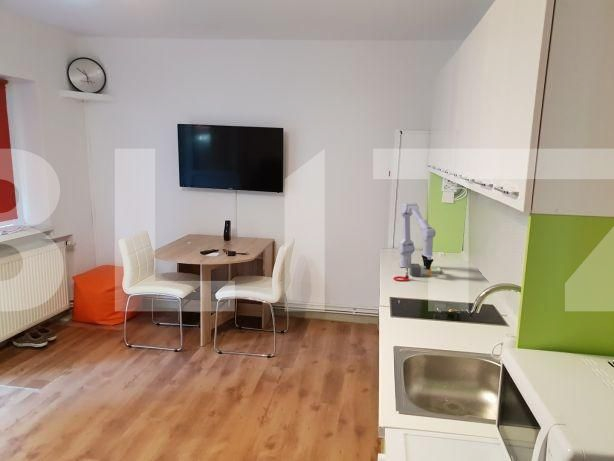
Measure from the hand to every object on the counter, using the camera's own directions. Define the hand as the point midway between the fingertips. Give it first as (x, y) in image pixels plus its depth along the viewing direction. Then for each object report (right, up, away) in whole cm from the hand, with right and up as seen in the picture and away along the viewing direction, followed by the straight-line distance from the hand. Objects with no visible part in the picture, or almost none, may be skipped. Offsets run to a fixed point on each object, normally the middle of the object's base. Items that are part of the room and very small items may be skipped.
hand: (426, 267), depth 277 cm
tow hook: (-18, -7, -9) cm, 22 cm away
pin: (-4, -5, +1) cm, 6 cm away
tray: (+2, -3, +10) cm, 10 cm away
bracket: (-7, -5, +2) cm, 9 cm away
